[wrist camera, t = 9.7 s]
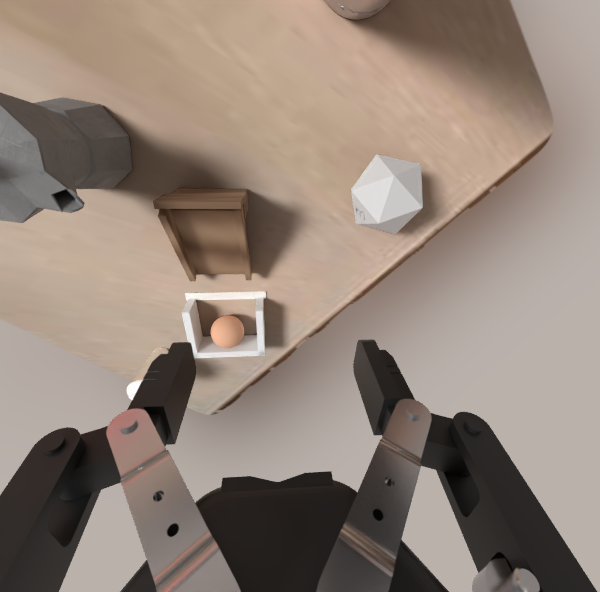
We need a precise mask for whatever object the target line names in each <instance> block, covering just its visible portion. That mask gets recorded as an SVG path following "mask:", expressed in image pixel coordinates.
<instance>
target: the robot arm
mask: <svg viewBox="0 0 600 592" xmlns="http://www.w3.org/2000/svg"><path fill="white" fill-rule="evenodd" d="M325 1H326V3H327V4H328V6H329V7H330V8H332V9H333V10H334V11H335V12H336V13H337V14H339V15H341V16H343V17H345V18H349V19H354V20H356V19H365V18H368V17H370V16H373V15H375V14H376V13H378V12H379V11H380V10H382V9H383V8H384V7H385V6H386V5H387V4H388V3H389V2H390V1H391V0H325ZM354 375H355V378H356V381H357V384H358V388H359V391H360V394H361V397H362V400H363V403H364V406H365V409H366V412H367V415H368V418H369V422H370V425H371V428H372V431H373V434H374V435H382V436H383V437H382V439H381V440H380V442H379V444H378V446H377V448H376V451H375V453H374V455H373V458H372V460H371V463H370V465H369V467H368V470H367V472H366V474H365V477H364V479H363V481H362V484H361V486H360V488H359V491H358V493H357V492H356V491H355V490H353V489H352V488H350V487H349V486H347V485H345V484H343V483H340V482H338V481H334V480H333V479H332V474H331V472H314V473H304V474H301V475H298V476H295V477H292V478H290V479H287V480H284V481H281V482H273V481H269V480H264V479H260V478H256V477H251V476H247V477H230V478H223V479H222V486H221V487H220V488H217V489H215V490H213V491H211V492H209V493H208V494H206V495H204V496H203V497H202V498H201V499H199V500H198V501H197V502H196V503H195V502H194V500H193V498H192V496H191V494H190V492H189V490H188V489H187V486H186V484H185V482H184V481H183V478H182V476H181V475H180V473H179V470H178V468H177V467H176V465H175V463H174V461H173V459H172V457H171V455H170V453H169V451H168V450H166V448H165V446H166V444H175V442H176V439H177V436H178V432H179V429H180V425H181V423H182V420H183V416H184V413H185V410H186V407H187V403H188V400H189V397H190V394H191V390H192V387H193V384H194V381H195V376H196V365H195V360H194V355H193V350H192V345H191V343H190V342H179V343H173V344H172V345H171V347H170V349H169V352H168V354H160V355H159V356H158V357H157V358H156V359H155V360H154V361H152V363H151V365H150V367H149V369H148V370H147V373H146V374H145V376H144V378H143V381H142V382H141V384H140V386H139V388H138V390H137V392H136V394H135V396H134V398H133V400H132V402H131V404H130V406H129V408H128V409H127V411H124V412H122V413H121V414H119V415H117V416H116V417H115V418H114V419H113V420H112V421H111V422H110V424H109V425H108V426H106V427H104V428H101V429H98V430H94V431H91V432H88V433H85V434H81V435H80V433H79V432H78V430H76V429H74V428H62V429H58V430H55V431H53V432H51V433H49V434H48V435H46V436H44V437H43V438H42V439H41V440H40V441H38V442H37V443H36V444H35V445H34V447H33V448H32V450H31V451H30V453H29V454H28V456H27V457H26V458H25V460H24V461H23V463H22V464H21V466H20V467H19V469H18V470H17V472H16V473H15V475H14V476H13V478H12V479H11V481H10V482H9V483H8V485H7V486H6V488H5V489H4V491H3V492H2V494H1V495H0V592H59V590H60V587H61V585H62V582H63V580H64V578H65V575H66V573H67V570H68V568H69V566H70V563H71V561H72V558H73V556H74V553H75V551H76V548H77V546H78V544H79V541H80V539H81V536H82V534H83V532H84V529H85V527H86V525H87V522H88V520H89V517H90V515H91V512H92V510H93V508H94V505H95V503H96V500H97V498H98V496H99V493H100V491H101V489H104V488H107V487H109V486H112V485H115V484H117V483H120V482H121V484H122V487H123V490H124V493H125V496H126V499H127V502H128V505H129V508H130V511H131V514H132V517H133V520H134V522H135V526H136V529H137V531H138V535H139V538H140V541H141V543H142V546H143V549H144V552H145V555H146V558H147V560H146V561H145V563H144V564H143V565H142V566H141V567H140V569H139V570H138V571H137V572H136V573H135V575H134V576H133V577H132V578H131V580H130V581H129V582H128V583H127V584H126V586H125V587H124V588H123V589H122V590H121V592H449V591H448V590H447V589H446V588H445V587H444V586H443V585H442V584H441V583H440V582H439V580H438V579H437V578H436V577H435V576H434V575H433V574H432V573H431V572H430V571H429V569H427V567H426V566H425V565H424V564H423V563H422V562H421V561H420V560H419V558H418V557H417V556H416V555H415V554H414V553H413V552H412V551H411V550H410V549H409V548H408V546H407V545H406V544H405V543H404V542H403V541H402V540H401V538H402V534H403V530H404V527H405V523H406V519H407V515H408V512H409V508H410V505H411V501H412V497H413V493H414V490H415V486H416V482H417V479H418V475H419V471H420V467H421V466H425V467H428V468H432V469H436V471H437V473H438V476H439V478H440V481H441V483H442V485H443V488H444V490H445V493H446V495H447V498H448V500H449V502H450V505H451V507H452V509H453V512H454V514H455V517H456V519H457V522H458V524H459V526H460V529H461V531H462V534H463V536H464V539H465V541H466V543H467V546H468V548H469V551H470V553H471V556H472V558H473V560H474V563H475V565H476V568H477V570H478V574H477V575H476V577H475V578H474V580H473V585H472V591H473V592H597V591H596V589H595V588H594V586H593V585H592V583H591V581H590V580H589V578H588V577H587V575H586V574H585V572H584V571H583V569H582V568H581V566H580V565H579V563H578V562H577V560H576V558H575V557H574V555H573V554H572V552H571V551H570V549H569V548H568V546H567V545H566V543H565V542H564V540H563V538H562V537H561V535H560V534H559V532H558V531H557V529H556V528H555V526H554V525H553V523H552V522H551V520H550V519H549V517H548V515H547V514H546V512H545V511H544V509H543V508H542V506H541V505H540V503H539V502H538V500H537V499H536V497H535V495H534V494H533V492H532V491H531V489H530V488H529V487H528V485H527V483H526V482H525V480H524V479H523V477H522V476H521V474H520V472H519V471H518V469H517V468H516V466H515V465H514V463H513V462H512V460H511V459H510V457H509V455H508V454H507V452H506V451H505V449H504V448H503V446H502V445H501V443H500V442H499V440H498V439H497V437H496V435H495V434H494V432H493V431H492V429H491V428H490V426H489V425H488V424H487V423H486V422H485V421H484V420H483V419H481V418H480V417H478V416H477V415H474V414H472V413H468V412H459V413H457V414H456V415H455V416H454V418H453V419H451V418H447V417H443V416H439V415H435V414H432V413H430V411H429V410H428V409H427V408H426V407H425V406H424V405H423V404H422V403H420V402H418V401H416V400H415V399H414V397H413V395H412V393H411V391H410V389H409V387H408V385H407V383H406V381H405V379H404V377H403V376H402V374H401V372H400V370H399V368H398V367H397V364H396V362H395V360H394V358H393V357H392V356H391V355H390V354H389V353H388V352H387V351H386V350H379V348H378V346H377V344H376V342H375V340H359V341H358V343H357V348H356V353H355V359H354Z"/></svg>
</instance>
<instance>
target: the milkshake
mask: <svg viewBox="0 0 600 592" xmlns="http://www.w3.org/2000/svg"><path fill="white" fill-rule="evenodd" d="M168 352H169V350H168V349H166V348H162V347H160V348H156V349H154V350H153V352H152V353H151V355H150V356H149V358H148V359H147V361H146V362H145V364H144V365H143V367H142V368H141V370H140V371H139V372H138V373H137V375H136V376H135V377H134V379H133V380H132V382H131V383H130V384H129V386H128V387H127V394H128V397H129V398H130V399H131V400H133V398H134V396H135V394H136V392H137V390H138V388H139V386H140V384H141V382H142V381H143V378H144V376H145V374H146V373H147V370H148V369H149V367H150V365H151V363H152V361H154V360H155V359H156V358H157V357H158V356H159V355H160V354H168Z"/></svg>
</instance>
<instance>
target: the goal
mask: <svg viewBox="0 0 600 592" xmlns="http://www.w3.org/2000/svg"><path fill="white" fill-rule="evenodd" d="M182 316H183V321H184V325H185V330H186V335H187V339H188V342H190V343H191V345H192V350H193V355H194V358H213V357H239V356H265V321H264V299H263V297H257V301H256V325H257V335H244V336H243V339H242V340H241V342H240V343H239V344H238V345H236V346H235V347H232V348H222V347H219V346H218V345H216V344H215V343H214V341H213V340H212V337H203V335H202V330H201V324H200V319H199V313H198V308H197V303H196V298H192V299H188V301H187V303H186V305H185V307H184V309H183V311H182Z"/></svg>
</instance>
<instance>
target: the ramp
mask: <svg viewBox="0 0 600 592" xmlns="http://www.w3.org/2000/svg"><path fill="white" fill-rule="evenodd" d="M153 203H154V207H155V209H160V211H159V215H158V217H159V219H160V221H161V223H162V225H163V227H164V229H165V231H166V233H167V235H168V237H169V239H170V241H171V243H172V246H173V248H174V250H175V252H176V254H177V256H178V258H179V260H180V262H181V264H182V266H183V268H184V270H185V272H186V274H187V276H188V278H189V280H190V281H195V280H196V275H199V274H245V276H246V280H251V273H252V269H251V262H250V255H249V248H248V241H247V234H246V227H245V219H246V215H247V212H248V209H249V207H248V191H247V189H203V188H179V189H177V190H175V191H174V192H172V193H171V194H169V195H163V196H161V197H160V198H158V199H156V200H155V201H153Z"/></svg>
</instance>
